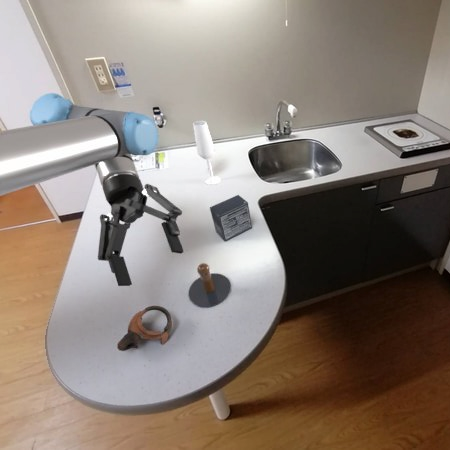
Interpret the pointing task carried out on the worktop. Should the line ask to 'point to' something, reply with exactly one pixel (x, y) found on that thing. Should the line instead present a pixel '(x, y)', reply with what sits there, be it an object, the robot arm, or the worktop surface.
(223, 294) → the lid
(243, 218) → the small box
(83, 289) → the worktop surface
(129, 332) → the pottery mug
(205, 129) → the champagne flute
